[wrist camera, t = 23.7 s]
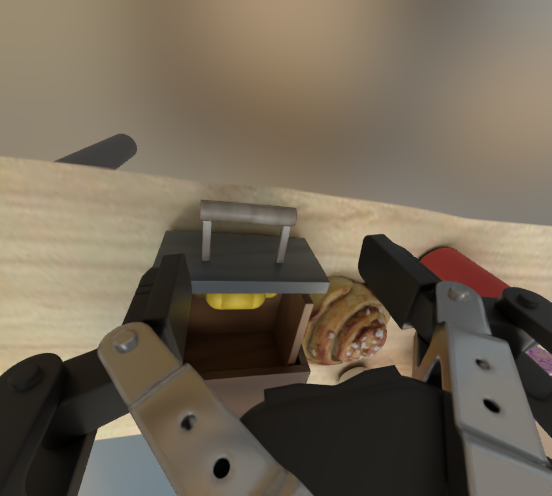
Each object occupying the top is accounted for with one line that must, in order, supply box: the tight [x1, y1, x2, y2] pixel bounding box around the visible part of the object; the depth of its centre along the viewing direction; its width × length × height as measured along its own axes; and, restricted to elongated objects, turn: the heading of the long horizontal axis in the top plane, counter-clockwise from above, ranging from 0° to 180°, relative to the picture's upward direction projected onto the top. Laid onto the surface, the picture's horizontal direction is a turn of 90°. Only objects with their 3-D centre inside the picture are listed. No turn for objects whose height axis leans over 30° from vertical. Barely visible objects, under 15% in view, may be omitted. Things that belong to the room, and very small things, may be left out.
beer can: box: [420, 248, 539, 353], centre depth 29 cm, size 7×7×12 cm
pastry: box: [301, 277, 390, 365], centre depth 31 cm, size 13×15×8 cm
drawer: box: [152, 200, 330, 373], centre depth 24 cm, size 18×13×7 cm
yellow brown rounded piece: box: [193, 293, 277, 310], centre depth 25 cm, size 9×3×3 cm
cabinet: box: [198, 344, 311, 419], centre depth 30 cm, size 15×15×9 cm
